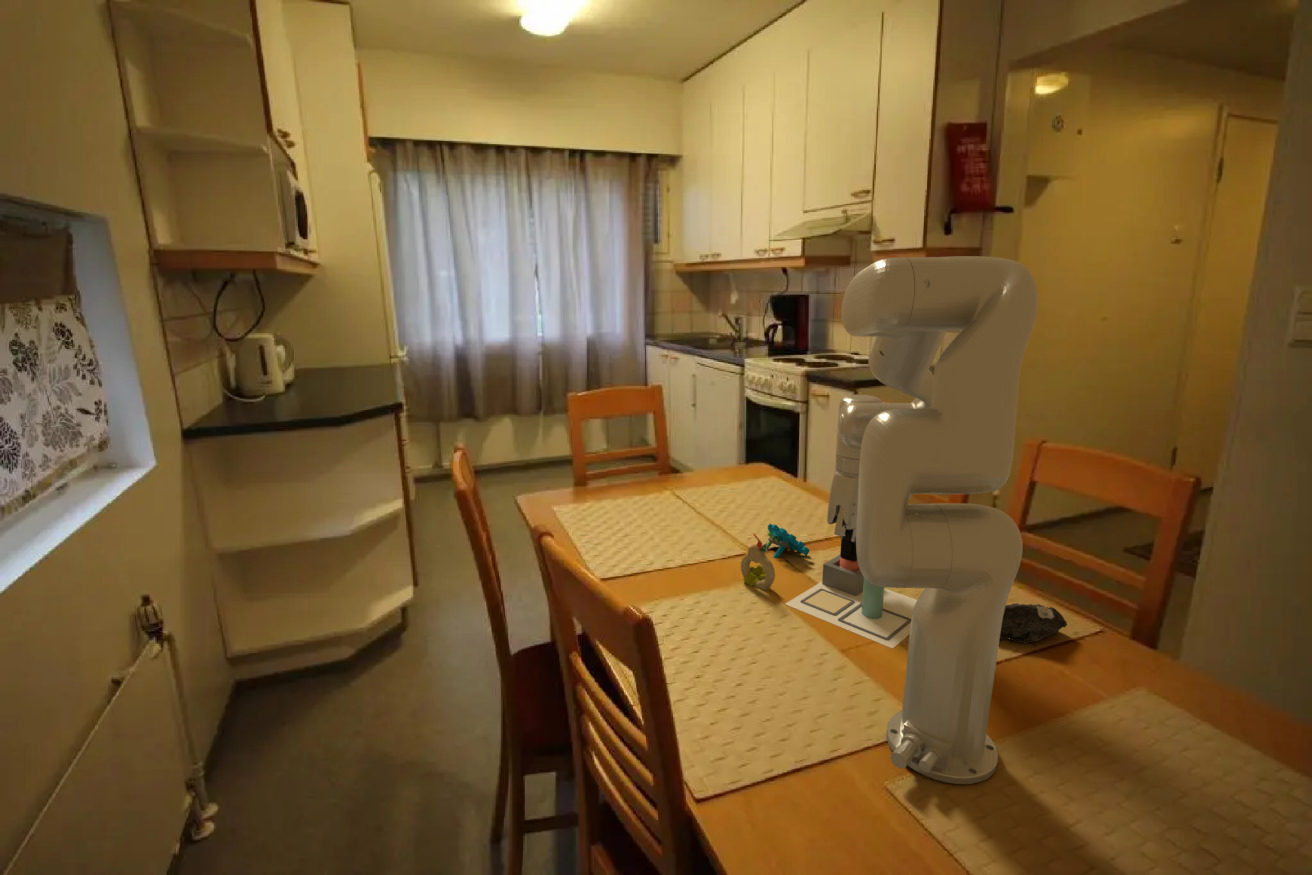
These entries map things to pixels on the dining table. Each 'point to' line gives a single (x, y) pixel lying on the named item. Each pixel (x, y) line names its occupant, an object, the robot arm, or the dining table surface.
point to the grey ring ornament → (758, 567)
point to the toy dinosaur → (784, 541)
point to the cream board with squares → (859, 613)
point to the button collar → (842, 577)
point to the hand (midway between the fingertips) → (849, 558)
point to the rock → (1030, 622)
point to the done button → (849, 564)
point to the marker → (872, 600)
